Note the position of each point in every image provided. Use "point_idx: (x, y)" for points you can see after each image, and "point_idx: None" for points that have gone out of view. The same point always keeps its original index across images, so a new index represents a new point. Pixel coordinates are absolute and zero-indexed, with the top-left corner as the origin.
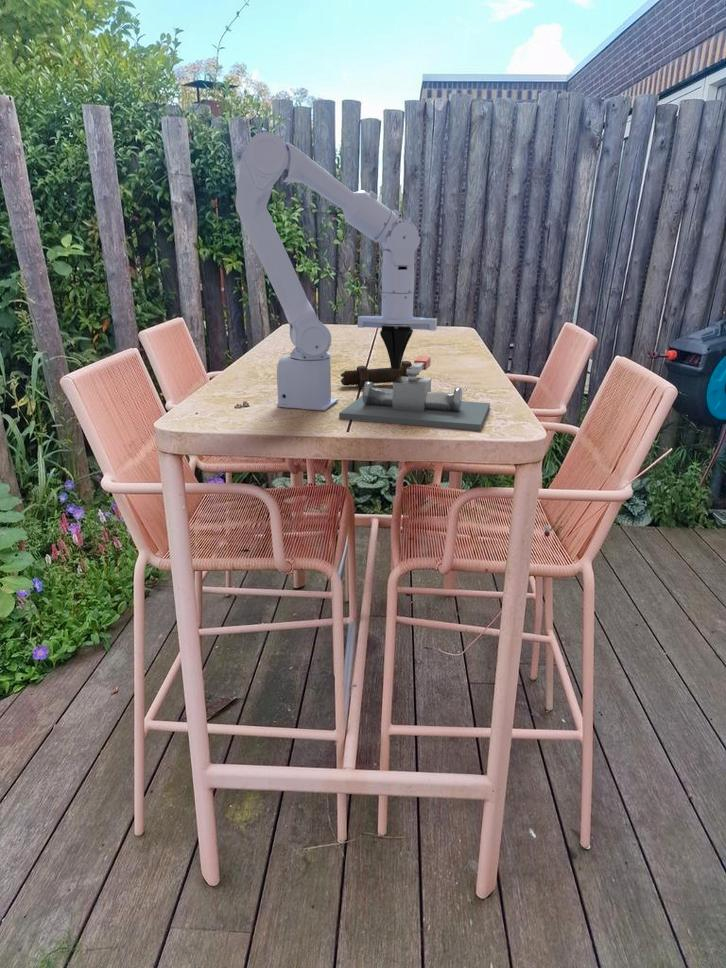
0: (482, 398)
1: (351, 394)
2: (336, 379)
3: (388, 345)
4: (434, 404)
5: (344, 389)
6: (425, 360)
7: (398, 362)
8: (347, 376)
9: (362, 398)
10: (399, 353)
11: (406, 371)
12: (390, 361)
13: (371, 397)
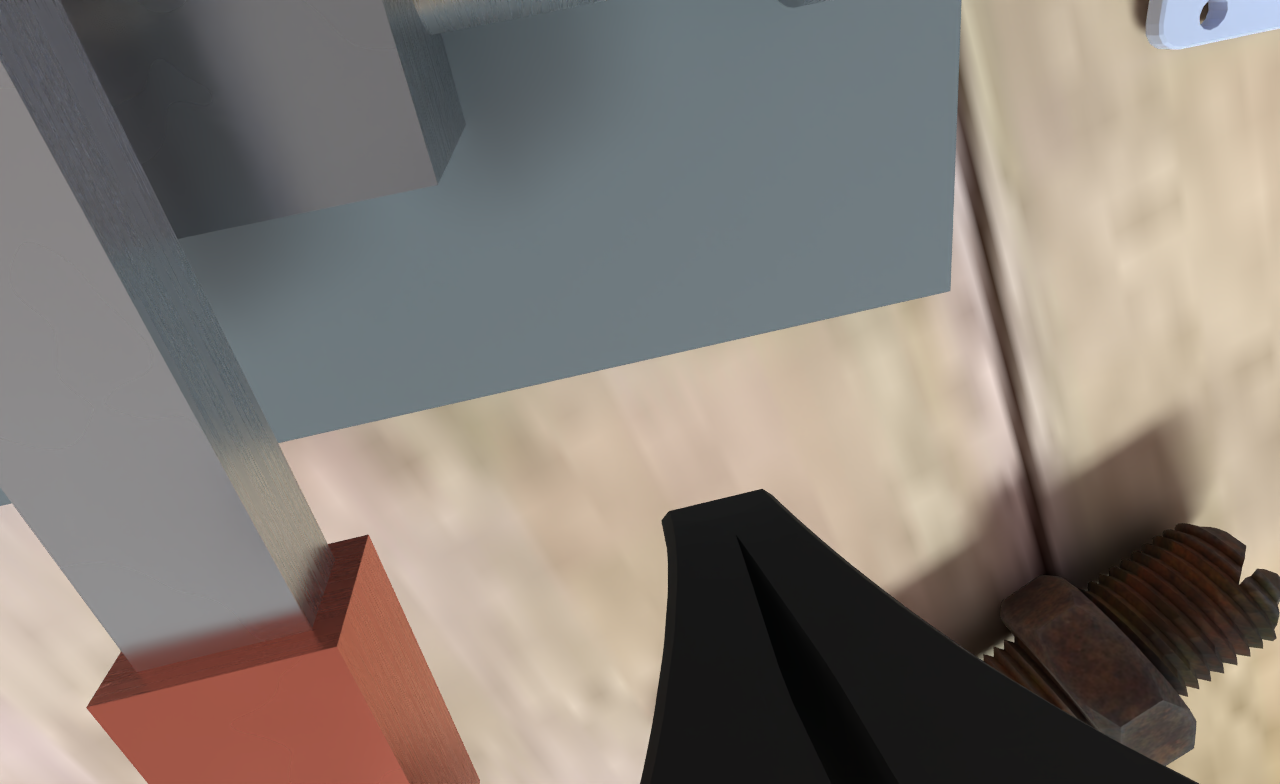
0: (55, 768)
1: (1070, 365)
2: (1248, 665)
3: (1030, 757)
4: None
5: (1154, 473)
6: (150, 746)
7: (671, 569)
8: (1218, 574)
9: (916, 94)
10: (678, 687)
11: None
12: (814, 536)
13: None
